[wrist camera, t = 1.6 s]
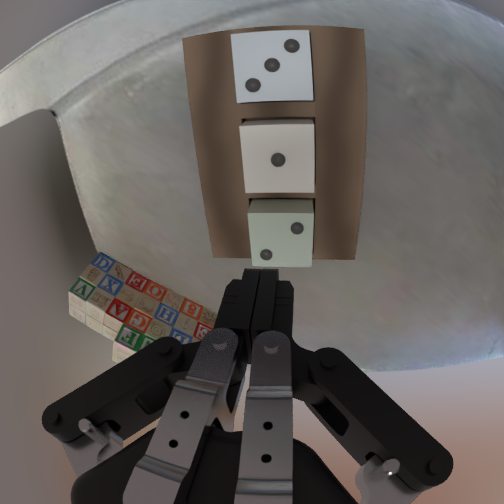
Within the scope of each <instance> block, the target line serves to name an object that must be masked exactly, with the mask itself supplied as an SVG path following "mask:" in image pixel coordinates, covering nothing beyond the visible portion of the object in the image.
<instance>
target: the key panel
mask: <svg viewBox="0 0 504 504" xmlns="http://www.w3.org/2000/svg"><path fill="white" fill-rule="evenodd" d="M278 30H309V38H310V50H311V65H312V83H313V100H285V101H259V102H243V103H237V98H236V87H235V77H234V66H233V55H232V45H231V34H239V33H249V32H261V31H278ZM182 41H183V51H184V61H185V70H186V79H187V87H188V95H189V104H190V111H191V119H192V126H193V134H194V141H195V148H196V155H197V162H198V168H199V175H200V181H201V187H202V194H203V200H204V206H205V212H206V218H207V224H208V229H209V235H210V241H211V246H212V252H213V257H216V258H252V256H251V246H250V235H249V225H248V214H247V213H248V210H249V207H250V204H251V201H252V199H312V202H313V210H314V225H313V249H312V259H338V260H355V253H356V246H357V239H358V231H359V223H360V214H361V204H362V194H363V182H364V169H365V152H366V124H367V82H366V56H365V41H364V29H356V28H346V27H332V26H268V27H254V28H244V29H235V30H227V31H220V32H213V33H207V34H202V35H196V36H191V37H187V38H182ZM278 119H312V121H313V123H314V158H315V171H314V193H245V183H244V172H243V161H242V151H241V140H240V130H239V126H240V125H241V124H242V123H244V122H245V121H253V120H278Z"/></svg>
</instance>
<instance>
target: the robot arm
mask: <svg viewBox="0 0 504 504" xmlns="http://www.w3.org/2000/svg"><path fill="white" fill-rule="evenodd" d="M293 301H294V288H293V286H292V285H291V283H290V281H279V272H278V269H262V270H261V269H244V273H243V276H242V280H238V279H233V280H232V281H231V282H230V283H229V284H228V285H227V286H226V289H225V292H224V297H223V299H222V302H221V305H220V308H219V311H218V315H217V318H216V321H215V324H214V327H213V330H211V331H209V332H208V333H207V334H206V335H205V336H204V337H203V339H202V340H200V341H198V342H193V343H187V344H181V343H180V341H179V340H178V339H176V338H174V337H170V336H166V337H161V338H158V339H157V340H155V341H153V342H152V343H150V344H149V345H147V346H145V347H144V348H142V349H141V350H139V351H138V352H136V353H134V354H133V355H131V356H130V357H128V358H126V359H125V360H123V361H122V362H120V363H118V364H117V365H115V366H113V367H112V368H110V369H109V370H107V371H105V372H104V373H102V374H101V375H99V376H97V377H96V378H94V379H92V380H91V381H89V382H88V383H86V384H84V385H82V386H81V387H79V388H77V389H76V390H74V391H73V392H71V393H69V394H68V395H66V396H64V397H63V398H61V399H59V400H57V401H56V402H54V403H52V404H51V405H49V406H48V407H47V408H46V409H45V411H44V412H43V415H42V424H43V427H44V428H45V430H46V431H48V432H49V433H50V434H52V435H53V436H54V437H56V438H57V439H58V440H59V441H60V442H61V443H62V445H63V447H64V450H65V452H66V454H67V456H68V458H69V461H70V462H71V465H72V467H73V469H74V471H75V473H76V475H77V477H78V478H77V479H76V481H75V482H74V484H73V487H72V490H71V503H72V504H358V503H357V502H356V501H355V499H354V498H353V497H352V496H351V495H350V494H349V492H348V491H347V490H346V489H345V488H344V486H343V485H342V484H341V483H340V482H339V480H338V479H337V478H336V477H335V476H334V474H333V473H332V472H331V471H330V470H329V468H328V467H327V466H326V465H325V463H324V462H323V461H322V460H321V458H320V457H319V456H318V455H317V454H316V452H315V451H314V450H313V449H311V448H310V447H309V446H307V445H306V444H305V443H303V442H301V441H299V440H296V439H294V438H293V403H292V401H293V400H292V398H296V399H298V400H301V401H304V402H305V404H306V405H307V407H308V408H309V409H310V410H311V411H312V413H313V414H314V415H315V416H316V417H317V418H318V419H319V421H320V422H321V423H322V424H323V425H324V426H325V427H326V428H327V430H328V431H329V432H330V433H331V434H332V435H333V436H334V437H335V439H336V440H337V441H338V442H339V443H340V444H341V445H342V446H343V447H344V448H345V449H346V450H347V452H348V453H349V454H350V455H351V456H352V457H353V458H354V459H355V460H356V461H357V462H358V463H359V464H360V465H361V467H360V468H359V470H358V471H357V473H356V477H355V483H356V486H357V487H358V489H359V490H360V493H361V497H362V498H361V503H360V504H411V502H413V501H414V500H415V499H416V498H417V497H418V496H419V495H420V494H421V493H422V492H423V491H425V490H427V489H430V488H432V487H435V486H437V485H439V484H441V483H443V482H444V481H445V480H447V478H448V477H449V476H450V474H451V472H452V469H453V458H452V456H451V454H450V453H449V452H448V451H447V450H446V449H445V448H444V447H443V446H442V445H441V444H440V443H439V442H438V441H437V440H435V439H434V438H433V437H432V436H431V435H430V434H429V433H428V432H427V431H426V430H425V429H423V428H422V427H421V426H420V425H419V424H418V423H417V422H416V421H415V420H414V419H413V418H412V417H411V416H409V415H408V414H407V413H406V412H405V411H404V410H403V409H402V408H401V407H400V406H399V405H398V404H397V403H395V402H394V401H393V400H392V399H391V398H390V397H389V396H388V395H387V394H386V393H385V392H384V391H383V390H382V389H381V388H379V387H378V386H377V385H376V384H375V383H374V382H373V381H372V380H371V379H370V378H369V377H368V376H367V375H366V374H365V373H364V372H363V371H361V370H360V369H359V368H358V367H357V366H356V365H355V364H354V363H353V362H352V361H351V360H350V359H349V358H348V357H347V356H346V355H345V354H344V353H342V352H341V351H340V350H338V349H335V348H329V347H327V348H321V349H319V350H317V351H315V352H313V351H310V350H306V349H304V348H302V347H300V346H298V345H297V344H296V343H295V341H294V340H293V338H292V326H293ZM247 364H251V370H250V383H249V389H248V390H247V394H246V401H245V412H244V423H243V431H237V432H233V429H234V417H235V413H236V410H237V406H238V402H239V399H240V395H241V392H242V388H243V384H244V381H245V372H246V367H247ZM159 417H161V418H160V420H159V423H158V425H157V427H156V428H154V429H152V430H150V431H148V432H147V433H146V434H144V435H143V436H141V437H140V438H138V439H137V440H135V441H134V442H132V443H131V444H129V445H128V446H126V447H125V448H123V440H125V439H127V438H128V437H130V436H132V435H133V434H135V433H136V432H138V431H140V430H141V429H143V428H144V427H146V426H147V425H149V424H150V423H152V422H153V421H155V420H156V419H158V418H159Z"/></svg>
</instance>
